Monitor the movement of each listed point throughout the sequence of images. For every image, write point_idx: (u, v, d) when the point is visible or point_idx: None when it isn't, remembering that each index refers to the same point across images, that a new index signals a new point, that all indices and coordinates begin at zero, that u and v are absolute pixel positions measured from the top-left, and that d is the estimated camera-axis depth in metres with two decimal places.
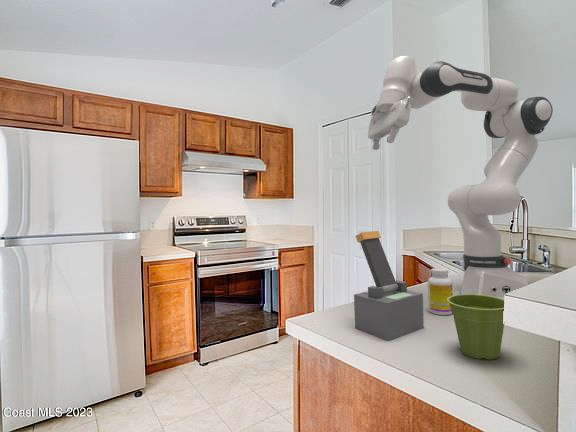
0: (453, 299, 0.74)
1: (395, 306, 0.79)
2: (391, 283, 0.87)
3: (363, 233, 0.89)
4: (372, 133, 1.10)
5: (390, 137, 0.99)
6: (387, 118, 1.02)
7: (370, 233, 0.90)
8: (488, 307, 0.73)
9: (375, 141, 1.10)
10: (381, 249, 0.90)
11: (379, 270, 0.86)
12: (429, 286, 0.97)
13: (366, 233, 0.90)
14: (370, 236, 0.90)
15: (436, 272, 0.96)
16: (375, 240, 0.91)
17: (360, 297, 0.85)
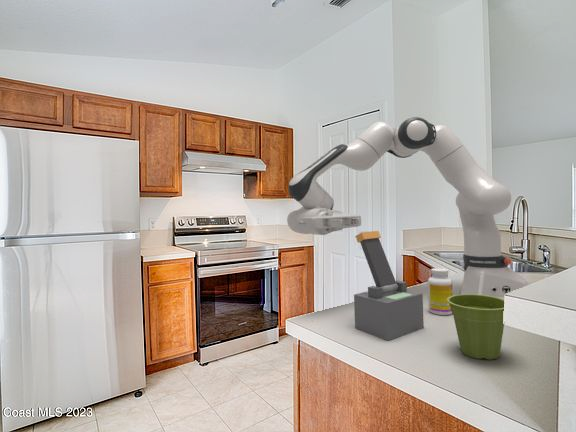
0: (453, 299, 0.74)
1: (395, 306, 0.79)
2: (391, 283, 0.87)
3: (363, 233, 0.89)
4: (352, 226, 1.05)
5: (338, 224, 0.96)
6: None
7: (370, 233, 0.90)
8: (488, 307, 0.73)
9: None
10: (381, 249, 0.90)
11: (379, 270, 0.86)
12: (429, 286, 0.97)
13: (366, 233, 0.90)
14: (370, 236, 0.90)
15: (436, 272, 0.96)
16: (375, 240, 0.91)
17: (360, 297, 0.85)
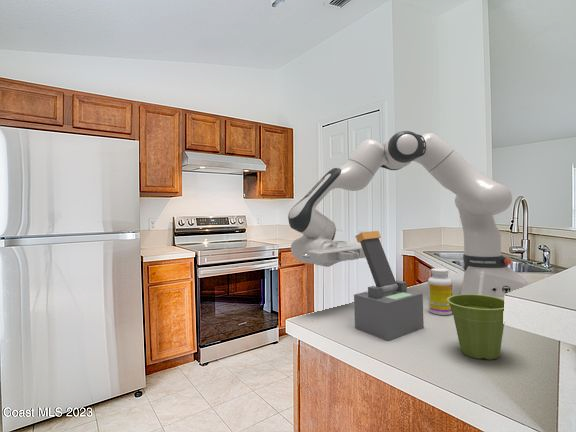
0: (453, 299, 0.74)
1: (395, 306, 0.79)
2: (391, 283, 0.87)
3: (363, 233, 0.89)
4: None
5: (349, 258, 0.96)
6: None
7: (370, 233, 0.90)
8: (488, 307, 0.73)
9: None
10: (381, 249, 0.90)
11: (379, 270, 0.86)
12: (429, 286, 0.97)
13: (366, 233, 0.90)
14: (370, 236, 0.90)
15: (436, 272, 0.96)
16: (375, 240, 0.91)
17: (360, 297, 0.85)
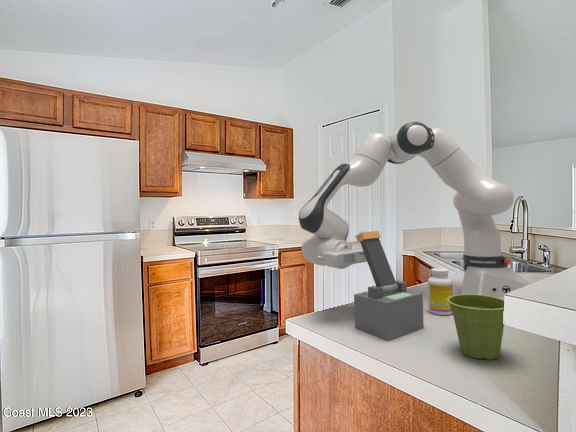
0: (453, 299, 0.74)
1: (395, 306, 0.79)
2: (391, 283, 0.87)
3: (363, 233, 0.89)
4: None
5: (366, 260, 0.90)
6: None
7: (370, 233, 0.90)
8: (488, 307, 0.73)
9: None
10: (381, 249, 0.90)
11: (379, 270, 0.86)
12: (429, 286, 0.97)
13: (366, 233, 0.89)
14: (370, 236, 0.90)
15: (436, 272, 0.96)
16: (375, 240, 0.91)
17: (360, 297, 0.85)
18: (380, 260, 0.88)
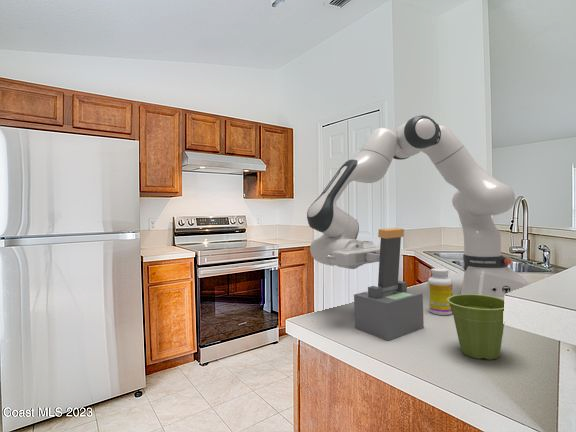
0: (453, 299, 0.74)
1: (395, 306, 0.79)
2: (393, 285, 0.86)
3: (388, 232, 0.82)
4: None
5: None
6: None
7: (395, 232, 0.83)
8: (488, 307, 0.73)
9: None
10: (398, 249, 0.86)
11: (387, 271, 0.84)
12: (429, 286, 0.97)
13: (391, 232, 0.83)
14: (393, 235, 0.83)
15: (436, 272, 0.96)
16: (396, 239, 0.85)
17: (360, 297, 0.85)
18: (392, 261, 0.85)
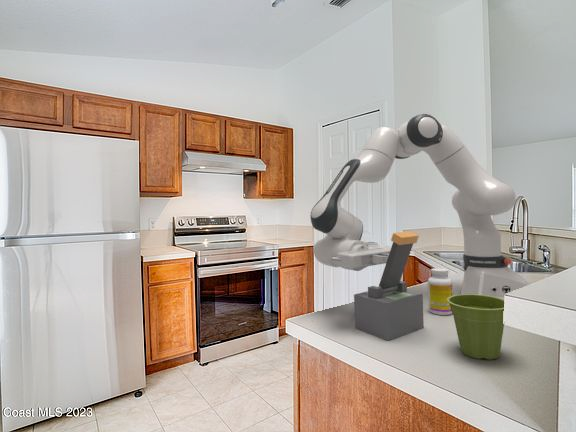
0: (453, 299, 0.74)
1: (395, 306, 0.79)
2: (394, 286, 0.86)
3: (402, 238, 0.78)
4: None
5: (385, 262, 0.85)
6: None
7: (409, 238, 0.80)
8: (488, 307, 0.73)
9: None
10: (408, 254, 0.83)
11: (391, 274, 0.83)
12: (429, 286, 0.97)
13: (405, 238, 0.79)
14: (407, 242, 0.80)
15: (436, 272, 0.96)
16: (408, 244, 0.82)
17: (360, 297, 0.85)
18: (399, 265, 0.83)
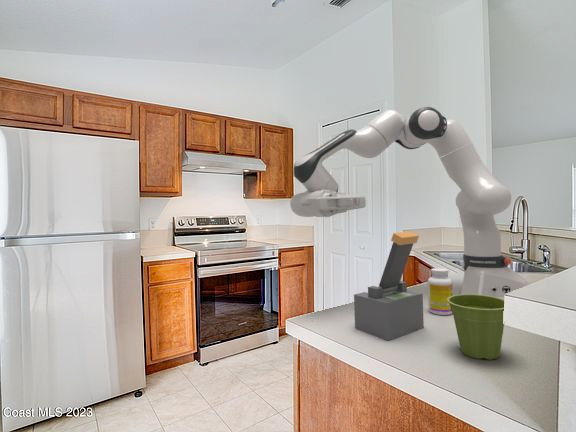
0: (453, 299, 0.74)
1: (395, 306, 0.79)
2: (394, 286, 0.86)
3: (402, 239, 0.78)
4: (356, 207, 1.03)
5: (348, 204, 0.95)
6: None
7: (409, 238, 0.80)
8: (488, 307, 0.73)
9: None
10: (408, 254, 0.83)
11: (391, 274, 0.83)
12: (429, 286, 0.97)
13: (405, 239, 0.79)
14: (407, 242, 0.80)
15: (436, 272, 0.96)
16: (409, 244, 0.82)
17: (360, 297, 0.85)
18: (399, 265, 0.83)
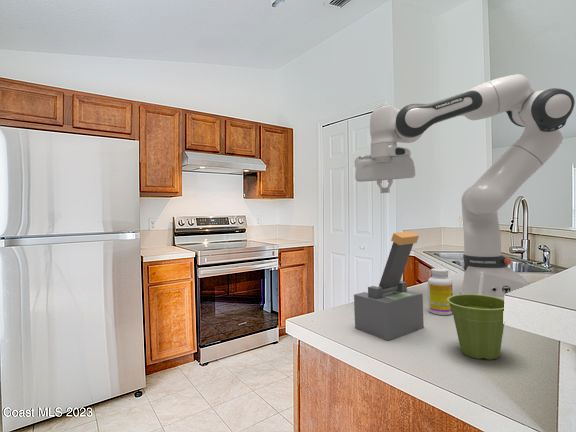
0: (453, 299, 0.74)
1: (395, 306, 0.79)
2: (394, 286, 0.86)
3: (402, 239, 0.78)
4: None
5: None
6: None
7: (409, 238, 0.80)
8: (488, 307, 0.73)
9: None
10: (408, 254, 0.83)
11: (391, 274, 0.83)
12: (429, 286, 0.97)
13: (405, 239, 0.79)
14: (407, 242, 0.80)
15: (436, 272, 0.96)
16: (409, 244, 0.82)
17: (360, 297, 0.85)
18: (399, 265, 0.83)
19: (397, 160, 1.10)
